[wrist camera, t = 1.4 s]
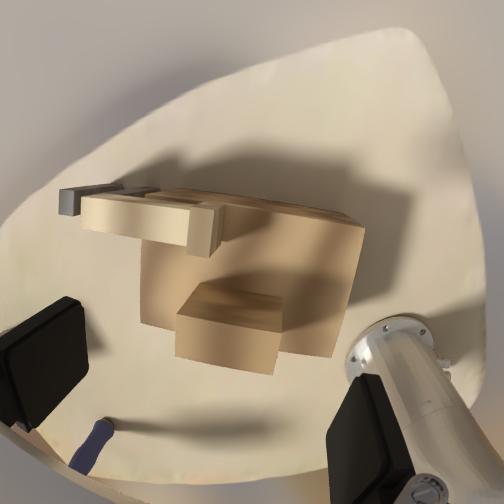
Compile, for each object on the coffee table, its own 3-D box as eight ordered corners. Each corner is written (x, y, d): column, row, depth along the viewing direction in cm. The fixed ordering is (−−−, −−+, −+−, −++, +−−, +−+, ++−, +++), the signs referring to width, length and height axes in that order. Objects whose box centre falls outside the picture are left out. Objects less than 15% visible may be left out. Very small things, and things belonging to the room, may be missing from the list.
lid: (359, 224, 25) (390, 245, 17) (328, 345, 28) (340, 400, 20) (155, 192, 26) (106, 201, 18) (149, 313, 29) (110, 355, 21)
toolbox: (343, 213, 31) (366, 229, 22) (321, 314, 34) (331, 360, 25) (109, 181, 33) (59, 186, 24) (106, 273, 36) (62, 301, 27)
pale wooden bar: (226, 204, 23) (214, 210, 19) (220, 244, 24) (208, 258, 20) (103, 189, 23) (76, 193, 20) (101, 225, 24) (75, 234, 20)
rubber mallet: (123, 410, 43) (42, 542, 14) (142, 438, 44) (79, 565, 15) (76, 407, 45) (-4, 510, 16) (95, 433, 46) (28, 536, 17)
